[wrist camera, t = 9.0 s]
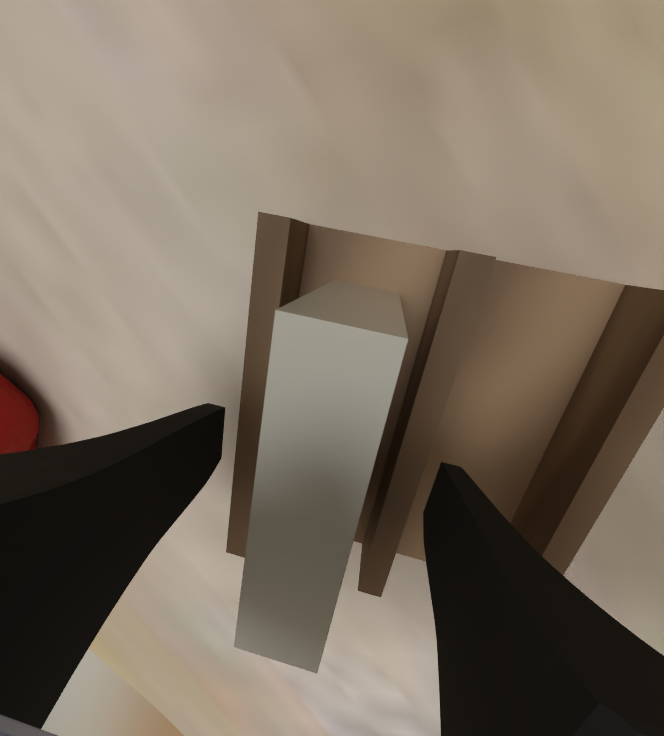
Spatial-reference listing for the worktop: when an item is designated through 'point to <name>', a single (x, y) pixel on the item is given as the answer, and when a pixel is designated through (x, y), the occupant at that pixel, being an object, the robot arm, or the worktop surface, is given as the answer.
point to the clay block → (315, 462)
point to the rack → (472, 385)
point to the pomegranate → (16, 419)
